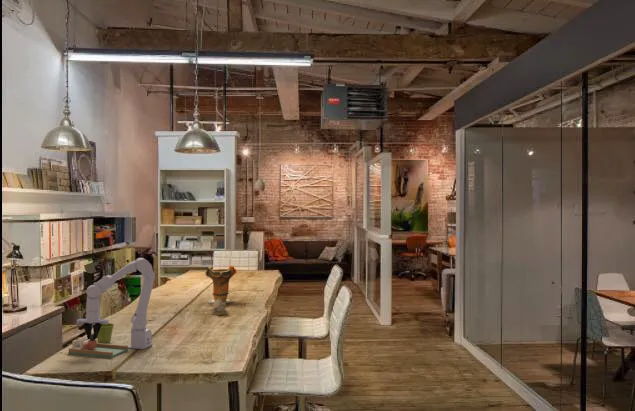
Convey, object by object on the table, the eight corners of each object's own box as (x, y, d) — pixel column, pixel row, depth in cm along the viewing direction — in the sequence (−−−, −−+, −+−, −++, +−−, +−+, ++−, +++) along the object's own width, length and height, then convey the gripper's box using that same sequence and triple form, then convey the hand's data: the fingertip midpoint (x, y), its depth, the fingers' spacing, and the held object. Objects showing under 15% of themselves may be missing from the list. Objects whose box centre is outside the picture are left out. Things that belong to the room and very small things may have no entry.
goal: (93, 346, 241) (93, 336, 241) (81, 351, 233) (81, 340, 233) (84, 346, 242) (84, 335, 242) (72, 350, 234) (72, 340, 234)
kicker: (98, 347, 239) (98, 332, 239) (90, 350, 233) (90, 335, 233) (92, 346, 240) (92, 332, 240) (83, 349, 234) (83, 335, 234)
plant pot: (108, 338, 261) (108, 322, 261) (117, 341, 255) (117, 324, 255) (91, 342, 254) (91, 325, 254) (100, 345, 248) (100, 328, 248)
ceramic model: (229, 314, 325) (230, 299, 325) (213, 315, 320) (213, 300, 320) (224, 310, 337) (224, 295, 338) (208, 311, 333) (208, 297, 333)
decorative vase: (202, 299, 376) (204, 262, 377) (232, 299, 383) (235, 263, 384) (204, 304, 356) (207, 265, 357) (236, 304, 363) (238, 266, 364)
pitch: (127, 350, 239) (127, 345, 239) (111, 357, 227) (111, 352, 227) (86, 347, 244) (86, 342, 244) (68, 353, 233) (68, 348, 233)
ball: (81, 344, 240) (87, 349, 239) (76, 346, 236) (81, 351, 236) (86, 337, 240) (91, 343, 239) (80, 340, 236) (86, 345, 235)
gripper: (111, 309, 240) (111, 336, 240) (82, 308, 241) (81, 336, 241) (104, 312, 233) (104, 340, 233) (74, 311, 234) (74, 340, 234)
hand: (92, 338), depth 236 cm, fingers closed on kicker, 2 cm apart
